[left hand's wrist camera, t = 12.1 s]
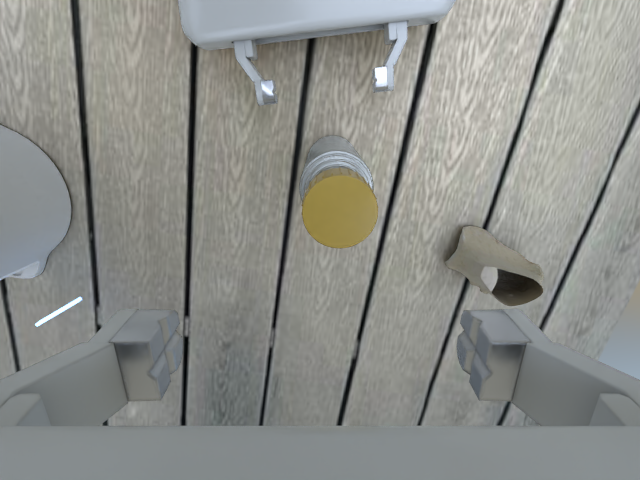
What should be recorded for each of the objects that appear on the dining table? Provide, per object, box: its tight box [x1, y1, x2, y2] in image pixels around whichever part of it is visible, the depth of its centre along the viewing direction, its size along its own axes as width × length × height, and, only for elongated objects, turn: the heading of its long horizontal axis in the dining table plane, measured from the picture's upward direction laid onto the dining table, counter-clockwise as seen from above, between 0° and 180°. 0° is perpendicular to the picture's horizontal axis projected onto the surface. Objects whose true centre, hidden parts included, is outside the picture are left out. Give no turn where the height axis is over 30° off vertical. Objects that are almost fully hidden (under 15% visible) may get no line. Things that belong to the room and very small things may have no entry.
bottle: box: [299, 135, 373, 202], centre depth 28 cm, size 5×5×19 cm
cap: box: [302, 167, 378, 248], centre depth 20 cm, size 4×4×2 cm
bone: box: [445, 226, 544, 306], centre depth 36 cm, size 9×8×10 cm
